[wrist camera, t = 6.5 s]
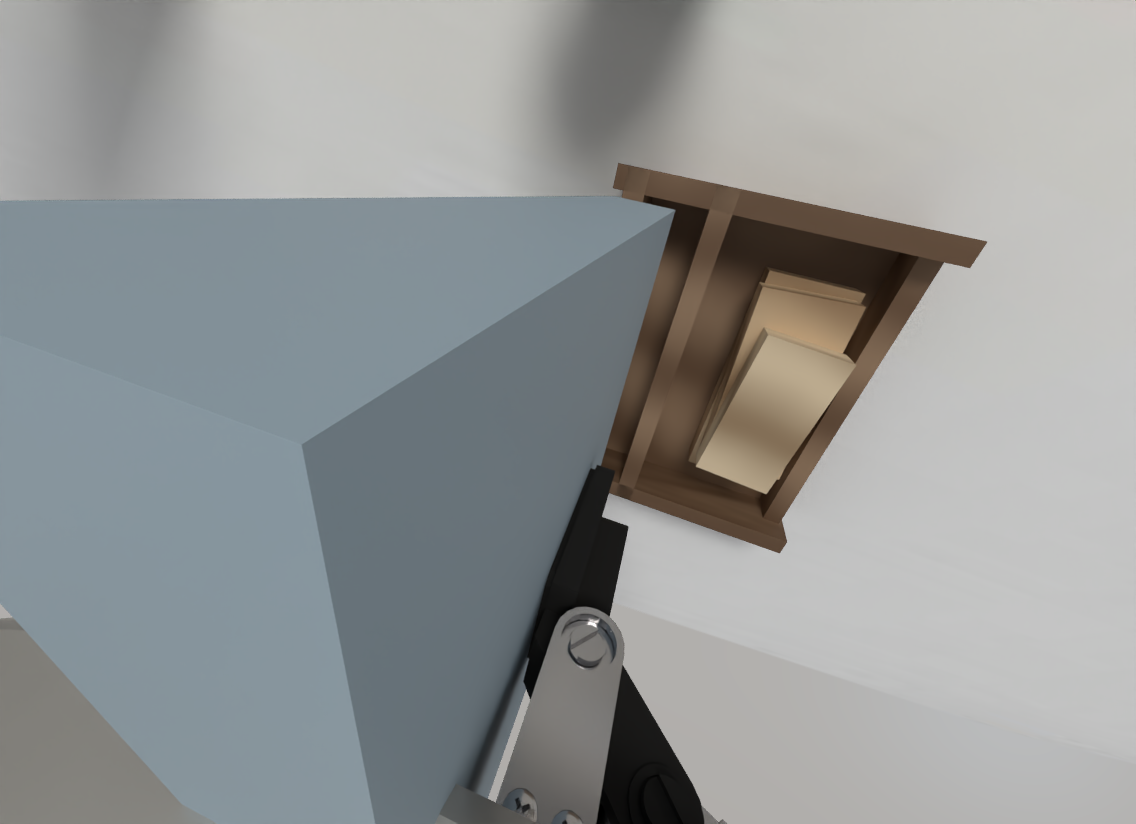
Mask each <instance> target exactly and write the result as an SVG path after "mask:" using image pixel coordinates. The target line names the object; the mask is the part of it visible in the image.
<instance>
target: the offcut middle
mask: <svg viewBox="0 0 1136 824" xmlns="http://www.w3.org/2000/svg"><path fill="white" fill-rule="evenodd" d="M865 309H866V307H865V306H864V305H862V304H860V303H859V302H857V301H855V300H850V299H845V298H840V297H835V296H829V295H824V294H819V293H814V292H809V291H803V290H798V289H793V288H788V287H783V286H777V285H772V284H767V283H762V282H759V284H758V287H757V290H756V292H755V295H754V298H753V300H752V303H751V306H750V309H749V311H748V314H747V317H746V320H745V322H744V325H743V328H742V331H741V333H740V336H739V339H738V342H737V344H736V347H735V350H734V353H733V355H732V358H731V361H730V364H729V366H728V369H727V372H726V375H725V377H724V380H723V383H722V386H721V388H720V391H719V394H718V397H717V399H716V402H715V405H714V408H713V410H712V413H711V416H710V419H709V421H708V424H707V427H706V430H705V432H704V435H703V438H702V441H703V439H704V438H705V436H706V434H707V432H708V430H709V428H710V426H711V424H712V423H713V421H714V419H715V417H716V415H717V413H718V411H719V410H720V408H721V406H722V404H723V402H724V400H725V398H726V397H727V395H728V393H729V391H730V389H731V387H732V385H733V384H734V382H735V380H736V378H737V376H738V374H739V372H740V371H741V369H742V367H743V365H744V363H745V361H746V359H747V357H748V356H749V354H750V352H751V350H752V348H753V346H754V344H755V343H756V341H757V339H758V337H759V335H760V333H761V331H762V330H763V328H764V327H767V328H769V329H772V330H775V331H778V332H781V333H784V334H787V335H790V336H793V337H796V338H799V339H802V340H805V341H808V342H810V343H813V344H816V345H819V346H822V347H825V348H828V349H831V350H834V351H837V352H840V353H843V352H844V350H845V348H846V346H847V344H848V342H849V340H850V338H851V336H852V334H853V332H854V330H855V328H856V326H857V324H858V322H859V320H860V318H861V316H862V314H863V312H864V311H865ZM702 441H701V443H702ZM701 443H700V445H701ZM784 469H785V468H784ZM783 471H784V470H783ZM783 471H782V473H783ZM782 473H781V474H780V476H779V477H778V478H777V479H778V480H779V479H780V477H781V475H782Z"/></svg>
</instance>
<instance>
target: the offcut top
mask: <svg viewBox="0 0 1136 824" xmlns="http://www.w3.org/2000/svg"><path fill="white" fill-rule="evenodd" d="M855 367H856V364H855V363H854V362H853V361H852V360H851V359H850V358H849V357H848V356H847V355H846V354H843V353H840V352H837V351H834V350H831V349H828V348H825V347H822V346H819V345H816V344H813V343H810V342H808V341H805V340H802V339H799V338H796V337H793V336H790V335H787V334H784V333H781V332H778V331H775V330H772V329H769V328H767V327H764V328H763V330H762V331H761V333H760V335H759V337H758V339H757V341H756V343H755V344H754V346H753V348H752V350H751V352H750V354H749V356H748V357H747V359H746V361H745V363H744V365H743V367H742V369H741V371H740V372H739V374H738V376H737V378H736V380H735V382H734V384H733V385H732V387H731V389H730V391H729V393H728V395H727V397H726V398H725V400H724V402H723V404H722V406H721V408H720V410H719V411H718V413H717V415H716V417H715V419H714V421H713V423H712V424H711V426H710V428H709V430H708V432H707V434H706V436H705V438H704V439H703V441H702V443H701V445H700V447H699V449H698V451H697V452H696V467H698V468H701V469H704V470H706V471H709V472H711V473H714V474H716V475H719V476H721V477H724V478H726V479H729V480H731V481H734V482H736V483H739V484H741V485H744V486H746V487H749V488H752V489H754V490H757V491H759V492H762V493H764V494H767V493H768V491H769V490H770V488H771V487H772V486H773V484H774V483H775V481H776V480H777V478H778V477H779V476H780V474H781V473H782V471H783V470H784V468H785V467H786V465H787V464H788V463H789V461H790V460H791V458H792V457H793V455H794V454H795V453H796V451H797V450H798V448H799V447H800V445H801V444H802V443H803V441H804V440H805V438H806V437H807V435H808V434H809V433H810V431H811V430H812V428H813V427H814V425H815V424H816V422H817V421H818V420H819V418H820V417H821V415H822V414H823V412H824V411H825V410H826V408H827V407H828V405H829V404H830V402H831V401H832V400H833V398H834V397H835V395H836V394H837V392H838V391H839V390H840V388H841V387H842V385H843V384H844V382H845V381H846V380H847V378H848V377H849V375H850V374H851V372H852V371H853V369H854V368H855Z"/></svg>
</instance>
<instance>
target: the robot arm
mask: <svg viewBox="0 0 1136 824" xmlns="http://www.w3.org/2000/svg"><path fill="white" fill-rule="evenodd" d="M614 474H615V470H612V469H609V468H606V467H603V466H600V465H597V466H596V468H595V469H592V468H590V471H589V473H588V476H587V478H586V481H585V483H584V486H583V488H582V491H581V493H580V496H579V498H578V501H577V503H576V506H575V508H574V511H573V514H572V516H571V519H570V521H569V524H568V526H567V529H566V531H565V534H564V536H563V539H562V541H561V544H560V546H559V549H558V551H557V554H556V556H555V559H554V561H553V564H552V566H551V569H550V572H549V575H548V578H547V581H546V584H545V587H544V591H543V595H542V599H541V603H540V607H539V611H538V615H537V619H536V623H535V627H534V631H533V635H532V639H531V643H530V647H529V651H528V655H527V658H529V661H528V665H527V669H526V673H525V676H524V680H523V682H524V684H525V687H526V689H527V692H528V695H529V697H530V703H529V706H528V709H527V712H526V715H525V717H524V721H523V723H522V726H521V729H520V732H519V735H518V738H517V741H516V744H515V747H514V750H513V753H512V756H511V759H510V762H509V765H508V768H507V771H506V774H505V777H504V780H503V782H502V786H501V788H500V791H499V795H498V797H497V800H496V803H495V802H493V801H491V800H489V799H487V798H485V797H483V796H481V795H479V794H477V793H475V792H473V791H471V790H468V789H466V788H464V787H462V786H460V785H458V784H456V785H455V787H454V789H453V790H452V792H451V794H450V796H449V797H448V799H447V801H446V803H445V804H444V806H443V808H442V810H441V812H440V813H439V816H438V818H437V820H436V823H435V824H727V823H726V822H725V821H724V820H721V821H720V822H718V821H717V820H716V819H715V818H714V817H713V816H712V815H711V814H710V813H709V812H708V811H706V810H705V809H704V808H703V807H702V806H701V802H700V799H699V797H698V795H697V793H696V791H695V789H694V786H693V784H692V782H691V781H690V779H689V777H688V776H687V774H686V772H685V771H684V769H683V767H682V765H681V764H680V762H679V760H678V759H677V757H676V755H675V753H674V752H673V750H672V748H671V746H670V745H669V743H668V741H667V740H666V738H665V736H664V735H663V733H662V731H661V729H660V728H659V726H658V724H657V723H656V721H655V719H654V718H653V716H652V714H651V712H650V711H649V709H648V707H647V705H646V704H645V702H644V700H643V699H642V697H641V695H640V694H639V692H638V690H637V688H636V687H635V685H634V683H633V682H632V680H631V679H630V676H629V675H628V673H627V671H626V670H625V668H624V666H623V659H624V641H623V637H622V634H621V631H620V630H619V628H618V627H617V625H616V623H615V622H614V621H613V620H612V619H611V618H610V617H609V616H610V612H611V607H612V603H613V598H614V593H615V589H616V584H617V579H618V574H619V570H620V565H621V560H622V556H623V551H624V546H625V541H626V537H627V532H628V526H626V525H623V524H620V523H617V522H615V521H612V520H609V519H606V518H603V517H602V514H603V511H604V507H605V504H606V501H607V497H608V494H609V491H610V488H611V484H612V481H613V478H614ZM0 824H217V823H215V822H213V821H212V820H210V819H208V818H206V817H204V816H202V815H201V814H199V813H197V812H195V811H193V810H191V809H190V808H188V807H186V806H184V805H182V804H181V803H180V802H179V801H178V800H177V798H176V797H175V796H174V795H173V794H172V793H171V792H170V791H169V790H168V788H167V787H166V786H165V785H164V784H163V783H162V782H161V781H160V780H159V778H158V777H157V776H156V775H155V774H154V773H153V772H152V771H151V770H150V769H149V767H148V766H147V765H146V764H145V763H144V762H143V761H142V760H141V759H140V757H139V756H138V755H137V754H136V753H135V752H134V751H133V750H132V749H131V747H130V746H129V745H128V744H127V743H126V742H125V741H124V740H123V739H122V738H121V736H120V735H119V734H118V733H117V732H116V731H115V730H114V729H113V728H112V726H111V725H110V724H109V723H108V722H107V721H106V720H105V719H104V718H103V716H102V715H101V714H100V713H99V712H98V711H97V710H96V709H95V708H94V707H93V705H92V704H91V703H90V702H89V701H88V700H87V699H86V698H85V697H84V695H83V694H82V693H81V692H80V691H79V690H78V689H77V688H76V687H75V685H74V684H73V683H72V682H71V681H70V680H69V679H68V678H67V677H66V675H65V674H64V673H63V672H62V671H61V670H60V669H59V668H58V667H57V666H56V664H55V663H54V662H53V661H52V660H51V659H50V658H49V657H48V656H47V654H46V653H45V652H44V651H43V650H42V649H41V648H40V647H39V646H38V644H37V643H36V642H35V641H34V640H33V639H32V638H31V637H30V636H29V635H28V633H27V632H26V631H25V630H24V629H23V628H22V627H21V626H20V625H19V623H18V622H17V621H16V620H15V619H14V618H13V617H12V618H2V619H0Z"/></svg>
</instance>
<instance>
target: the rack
mask: <svg viewBox="0 0 1136 824" xmlns="http://www.w3.org/2000/svg"><path fill="white" fill-rule="evenodd" d="M613 188H615V189H619V190H623V194H622V198H625V199H629V200H634V201H638V202H643V203H647V204H652V205H656V206H660V207H665V208H669V209H674V210H675V213H674V217H673V220H672V224H671V227H670V230H669V234H668V237H667V241H666V244H665V248H664V251H663V254H662V258H661V261H660V265H659V268H658V272H657V275H656V278H655V282H654V285H653V289H652V292H651V296H650V299H649V302H648V306H647V309H646V313H645V316H644V319H643V323H642V326H641V330H640V333H639V337H638V340H637V343H636V347H635V350H634V354H633V357H632V361H631V364H630V367H629V371H628V374H627V378H626V381H625V385H624V388H623V391H622V395H621V398H620V402H619V405H618V409H617V412H616V415H615V419H614V422H613V426H612V429H611V432H610V436H609V439H608V443H607V446H606V450H605V453H604V456H603V460H602V463H601V466H603V467H606V468H609V469H612V470H615V474H614V478H613V481H612V484H611V488H610V491H609V493H611V494H614V495H616V496H619V497H622V498H625V499H628V500H631V501H633V502H636V503H639V504H642V505H645V506H648V507H650V508H653V509H656V510H659V511H662V512H664V513H667V514H670V515H673V516H676V517H679V518H681V519H684V520H687V521H690V522H693V523H696V524H698V525H701V526H704V527H707V528H710V529H712V530H715V531H718V532H721V533H724V534H727V535H729V536H732V537H735V538H738V539H741V540H744V541H746V542H749V543H752V544H755V545H758V546H760V547H763V548H766V549H769V550H772V551H775V552H777V553H780V552H781V550H782V549H783V547H784V546H785V544H786V543H787V539H786V535H785V531H784V527H783V523H782V518H783V516H784V515H785V513H786V512H787V510H788V509H789V507H790V505H791V504H792V502H793V501H794V499H795V497H796V496H797V494H798V493H799V491H800V490H801V488H802V486H803V485H804V483H805V482H806V480H807V478H808V477H809V475H810V474H811V472H812V471H813V469H814V467H815V466H816V464H817V463H818V461H819V459H820V458H821V456H822V455H823V453H824V452H825V450H826V448H827V447H828V445H829V444H830V442H831V441H832V439H833V437H834V436H835V434H836V433H837V431H838V429H839V428H840V426H841V425H842V423H843V422H844V420H845V418H846V417H847V415H848V414H849V412H850V410H851V409H852V407H853V406H854V404H855V403H856V401H857V399H858V398H859V396H860V395H861V393H862V391H863V390H864V388H865V387H866V385H867V384H868V382H869V380H870V379H871V377H872V376H873V374H874V372H875V371H876V369H877V368H878V366H879V365H880V363H881V361H882V360H883V358H884V357H885V355H886V353H887V352H888V350H889V349H890V347H891V346H892V344H893V342H894V341H895V339H896V338H897V336H898V334H899V333H900V331H901V330H902V328H903V327H904V325H905V323H906V322H907V320H908V319H909V317H910V315H911V314H912V312H913V311H914V309H915V308H916V306H917V304H918V303H919V301H920V300H921V298H922V296H923V295H924V293H925V292H926V290H927V289H928V287H929V285H930V284H931V282H932V281H933V279H934V277H935V276H936V274H937V273H938V271H939V270H940V268H941V266H942V265H943V263H944V262H945V263H950V264H954V265H959V266H963V267H968V268H970V267H971V266H972V264H973V263H974V261H975V260H976V258H977V257H978V255H979V254H980V252H981V251H982V249H983V248H984V246H985V245H986V243H987V242H986V241H982V240H977V239H972V238H968V237H963V236H958V235H954V234H949V233H944V232H940V231H935V230H930V229H925V228H921V227H916V226H911V225H907V224H902V223H897V222H893V221H888V220H883V219H878V218H874V217H869V216H864V215H860V214H855V213H850V212H846V211H841V210H836V209H831V208H827V207H822V206H817V205H813V204H808V203H803V202H799V201H794V200H789V199H784V198H780V197H775V196H770V195H766V194H761V193H756V192H752V191H747V190H742V189H737V188H733V187H728V186H723V185H719V184H714V183H709V182H705V181H700V180H695V179H690V178H686V177H681V176H676V175H672V174H667V173H662V172H658V171H653V170H648V169H643V168H639V167H634V166H629V165H625V164H620V163H618V167H617V172H616V176H615V181H614V186H613ZM766 267H769V268H773V269H777V270H781V271H785V272H789V273H793V274H798V275H802V276H806V277H810V278H814V279H818V280H822V281H826V282H831V283H835V284H839V285H843V286H847V287H851V288H855V289H858V290H859V291H861V292H863V293H865V294H866V295H865V296H864V298H863V300H862V302H861V304H862V305H864V306H865V307H866V309H865V311H864V312H863V314H862V316H861V318H860V320H859V322H858V324H857V326H856V328H855V330H854V332H853V334H852V336H851V338H850V340H849V342H848V344H847V346H846V348H845V350H844V352H843V354H846V355H847V356H848V357H849V358H850V359H851V360H852V361H853V362H854V363H855V364H856V367H855V368H854V369H853V371H852V372H851V374H850V375H849V377H848V378H847V380H846V381H845V382H844V384H843V385H842V387H841V388H840V390H839V391H838V392H837V394H836V395H835V397H834V398H833V400H832V401H831V402H830V404H829V405H828V407H827V408H826V410H825V411H824V412H823V414H822V415H821V417H820V418H819V420H818V421H817V422H816V424H815V425H814V427H813V428H812V430H811V431H810V433H809V434H808V435H807V437H806V438H805V440H804V441H803V443H802V444H801V445H800V447H799V448H798V450H797V451H796V453H795V454H794V455H793V457H792V458H791V460H790V461H789V463H788V464H787V465H786V467H785V469H784V471H783V473H782V475H781V477H780V479H779V480H778V479H777V480H776V481H775V483H774V484H773V486H772V487H771V488H770V490H769V491H768V493H767V494H764V493H762V492H759V491H757V490H754V489H752V488H749V487H746V486H744V485H741V484H739V483H736V482H734V481H731V480H729V479H726V478H724V477H721V476H719V475H716V474H714V473H711V472H709V471H706V470H704V469H701V468H698V467H696V463H693V462H690V461H688V458H689V448H690V446H691V443H692V441H693V439H694V436H695V434H696V431H697V429H698V427H699V424H700V422H701V420H702V417H703V415H704V413H705V410H706V408H707V405H708V403H709V401H710V398H711V396H712V394H713V391H714V389H715V386H716V384H717V382H718V379H719V377H720V375H721V372H722V370H723V367H724V365H725V363H726V360H727V358H728V356H729V353H730V351H731V349H732V346H733V344H734V341H735V339H736V337H737V334H738V332H739V330H740V327H741V325H742V322H743V320H744V318H745V315H746V313H747V311H748V308H749V306H750V303H751V301H752V299H753V296H754V294H755V292H756V289H757V287H758V284H759V282H760V280H761V277H762V275H763V273H764V270H765V268H766Z"/></svg>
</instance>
